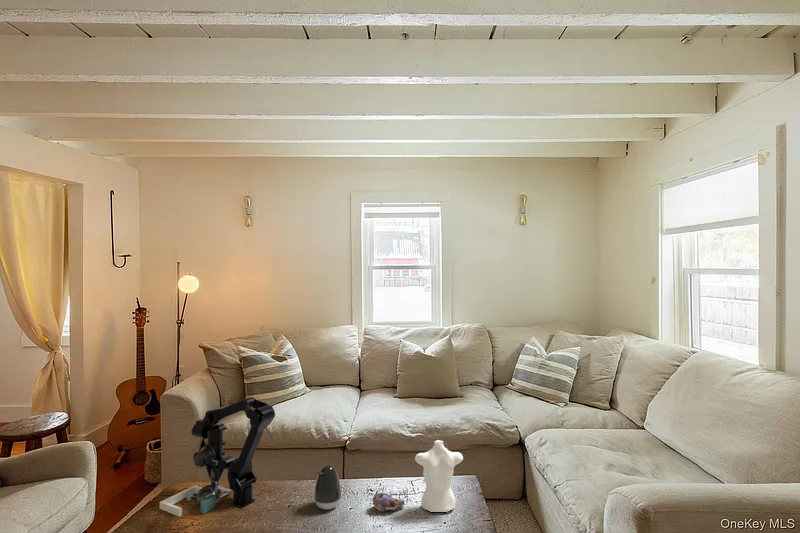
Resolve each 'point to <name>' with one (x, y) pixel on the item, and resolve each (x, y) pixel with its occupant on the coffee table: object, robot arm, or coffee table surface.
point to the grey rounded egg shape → (327, 488)
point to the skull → (386, 502)
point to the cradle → (217, 492)
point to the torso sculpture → (438, 477)
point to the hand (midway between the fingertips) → (214, 480)
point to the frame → (176, 510)
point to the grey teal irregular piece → (210, 501)
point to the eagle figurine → (201, 495)
